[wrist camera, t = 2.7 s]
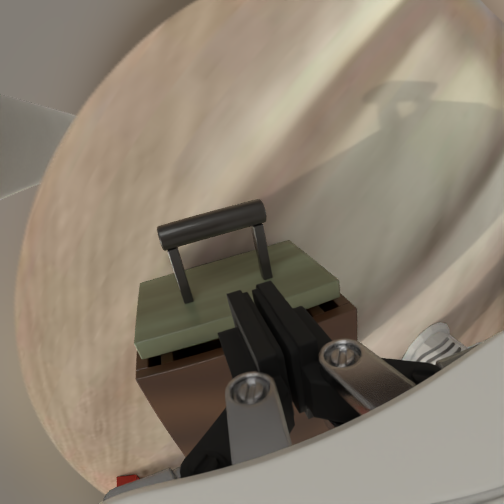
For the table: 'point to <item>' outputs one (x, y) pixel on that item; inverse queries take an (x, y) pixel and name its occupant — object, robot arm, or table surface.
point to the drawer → (220, 284)
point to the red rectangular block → (126, 479)
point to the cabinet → (222, 384)
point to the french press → (434, 345)
